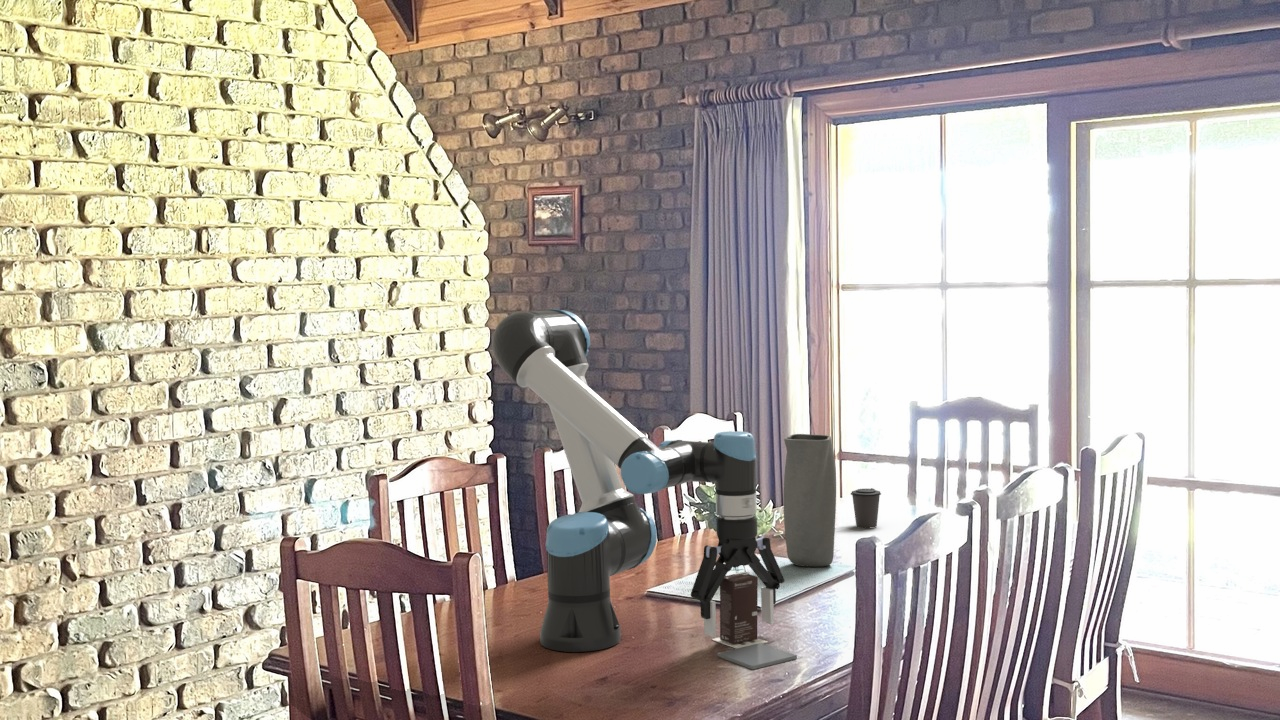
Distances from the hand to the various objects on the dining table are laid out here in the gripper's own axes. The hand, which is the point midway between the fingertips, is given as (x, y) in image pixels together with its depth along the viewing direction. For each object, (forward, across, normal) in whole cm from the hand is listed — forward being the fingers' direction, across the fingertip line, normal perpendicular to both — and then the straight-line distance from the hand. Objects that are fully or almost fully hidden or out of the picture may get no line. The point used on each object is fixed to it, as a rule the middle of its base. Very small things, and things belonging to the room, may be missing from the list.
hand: (739, 629), depth 239 cm
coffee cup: (+2, +93, +63) cm, 112 cm away
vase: (+2, +52, +39) cm, 65 cm away
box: (+2, 0, 0) cm, 2 cm away
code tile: (+2, 0, 0) cm, 2 cm away
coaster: (+2, -4, -10) cm, 11 cm away
